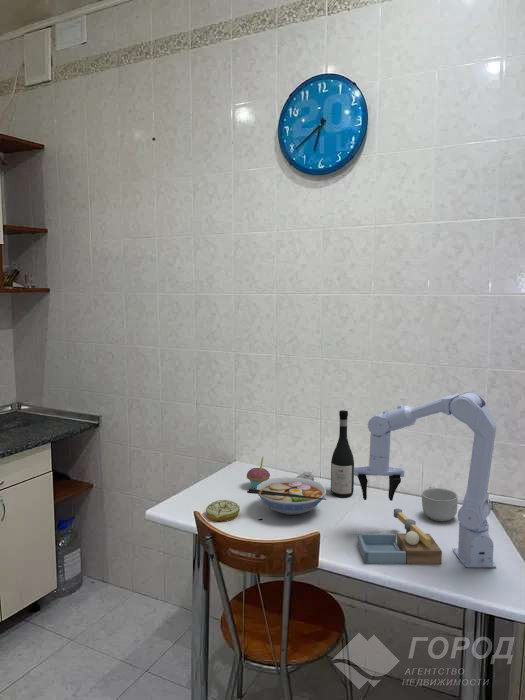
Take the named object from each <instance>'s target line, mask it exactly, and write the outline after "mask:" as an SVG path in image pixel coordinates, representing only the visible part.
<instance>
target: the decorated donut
mask: <svg viewBox="0 0 525 700" xmlns="http://www.w3.org/2000/svg"><path fill="white" fill-rule="evenodd" d="M240 510H241V509H240V505H239V504H238V503H237V502H235V501H233V500H229V499H219V500H216V501H213V502H211V503H210V504H208V505H207V506H206V507H205V513H206V516H207V518H208V519H209V520H210V519H211V520H210V521H213V520H215V521H214V522H226V521H225V520H228V521H231V520H234V519H236V518H235V517H238V515H239V514H240Z"/></svg>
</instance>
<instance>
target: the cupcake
mask: <svg viewBox="0 0 525 700" xmlns="http://www.w3.org/2000/svg"><path fill="white" fill-rule="evenodd" d="M263 463H264V456H262V457H261V459H260V466H259V467H253V468H250V469H249V470H248V471H247V473H246V479H247V480H249V483H250V484H251V488H252V487H253V488H252V489H254V488H255V489H257V485H259V484H260V483H262V482H263V481H266V480H270V476H271V474H270V472H269V470H267V469H266V468H264V467H263Z"/></svg>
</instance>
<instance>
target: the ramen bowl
mask: <svg viewBox="0 0 525 700" xmlns="http://www.w3.org/2000/svg"><path fill="white" fill-rule="evenodd" d="M246 493H247V494H253V495H258V497H259V498H260V499H261V501H263V502H262V503H264V504H265V506H267V507H268V509H271V510H272V511H274V512H277V513H281V514H283V515H288V516H296V515H300V514H305V513H308V512H310V511H312V510H313V509H315V508H316V507H317V506H318V505H319V504H320V503H321V502H322V501H323V500H324V501H326V500H327V498H325V496H326V494H327V490H326V486H324V485H323V484H321V483H320V482H318V481H315V480H314V481H313V480H310V479H304V478H298V477H297V476H296V477H294V476H293V477H292V476H291V477H289V476H283V477H275V478H271V479H270V478H269V479H268V480H266V481H263V482H262V483H260V484H259V485H257V489H254V488H248V490H247V492H246Z"/></svg>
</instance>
